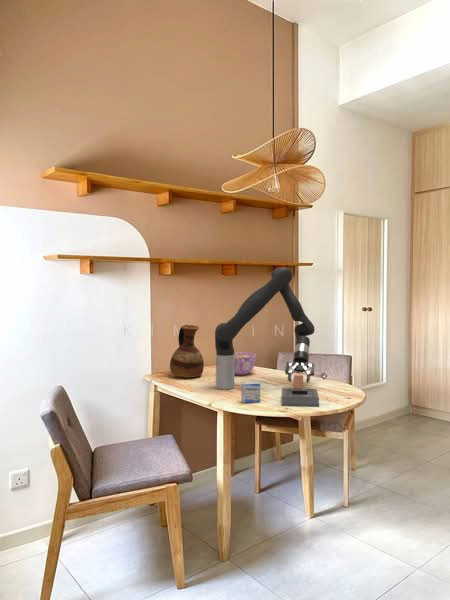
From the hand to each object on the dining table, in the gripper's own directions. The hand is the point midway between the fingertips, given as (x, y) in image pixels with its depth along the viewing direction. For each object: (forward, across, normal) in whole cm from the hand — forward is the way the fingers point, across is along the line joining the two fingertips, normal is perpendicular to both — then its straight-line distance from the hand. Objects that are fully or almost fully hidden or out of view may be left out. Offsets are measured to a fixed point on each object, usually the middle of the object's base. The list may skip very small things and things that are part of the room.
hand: (298, 381), depth 220 cm
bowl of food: (-22, -40, +30) cm, 55 cm away
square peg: (+4, 0, +4) cm, 6 cm away
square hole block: (+15, +3, -7) cm, 17 cm away
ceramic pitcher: (-11, -68, +20) cm, 71 cm away
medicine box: (+20, -18, -12) cm, 30 cm away
